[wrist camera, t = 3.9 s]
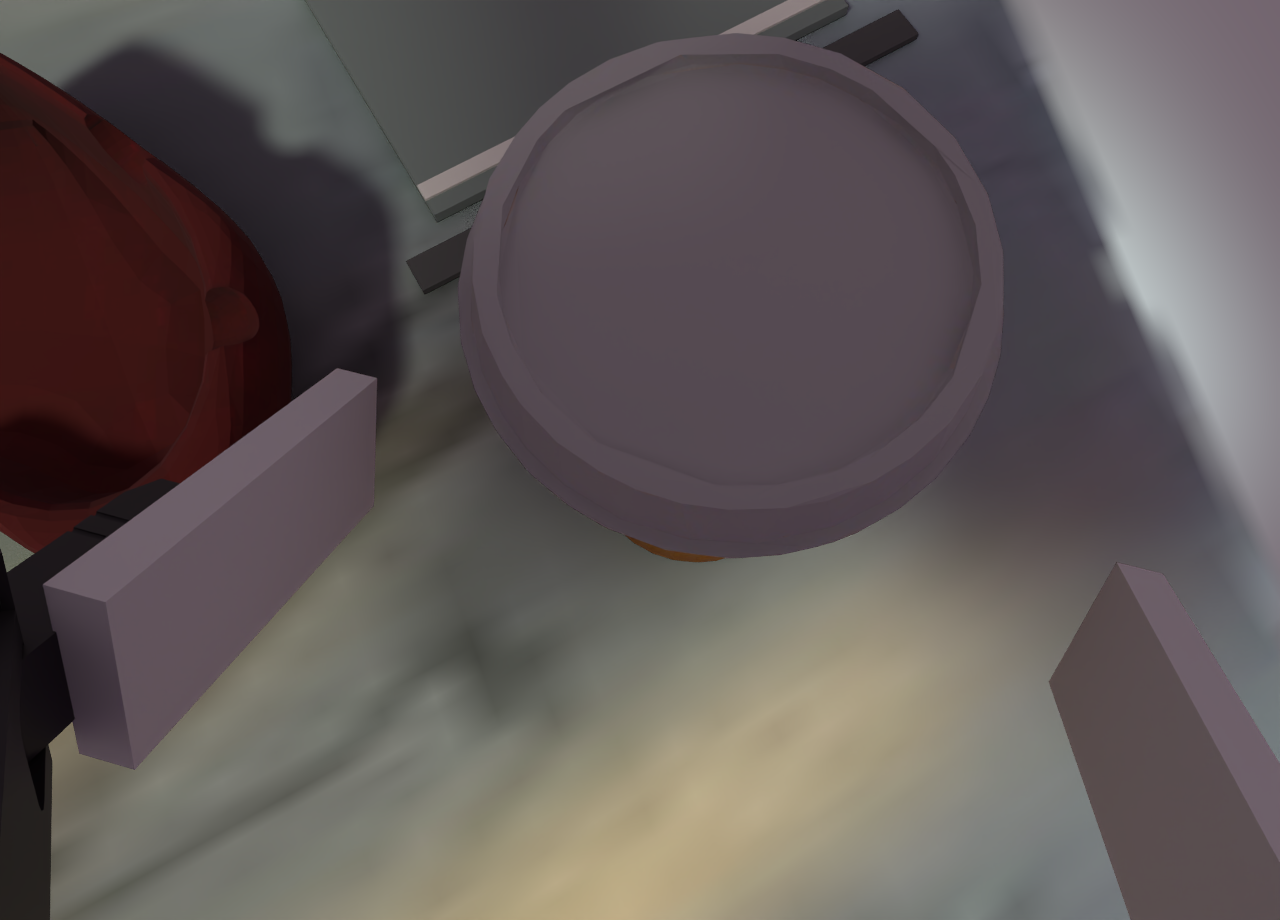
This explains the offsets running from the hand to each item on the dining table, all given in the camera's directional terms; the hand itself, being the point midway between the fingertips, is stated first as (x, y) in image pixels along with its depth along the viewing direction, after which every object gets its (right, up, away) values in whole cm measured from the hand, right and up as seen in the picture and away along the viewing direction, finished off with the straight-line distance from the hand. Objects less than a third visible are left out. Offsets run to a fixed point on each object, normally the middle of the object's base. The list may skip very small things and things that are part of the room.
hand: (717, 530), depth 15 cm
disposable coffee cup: (0, +1, +10) cm, 10 cm away
